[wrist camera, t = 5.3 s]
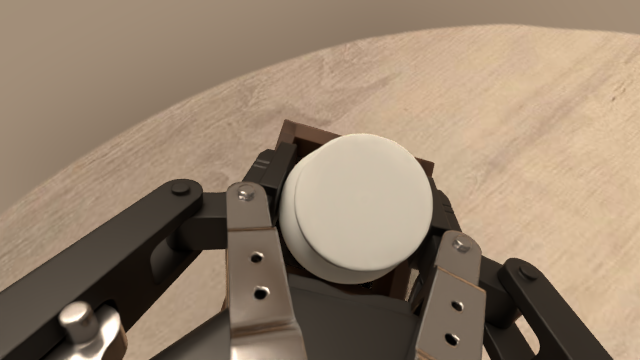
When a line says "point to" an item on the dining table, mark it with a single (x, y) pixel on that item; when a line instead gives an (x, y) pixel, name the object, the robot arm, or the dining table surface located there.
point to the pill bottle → (355, 208)
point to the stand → (386, 285)
